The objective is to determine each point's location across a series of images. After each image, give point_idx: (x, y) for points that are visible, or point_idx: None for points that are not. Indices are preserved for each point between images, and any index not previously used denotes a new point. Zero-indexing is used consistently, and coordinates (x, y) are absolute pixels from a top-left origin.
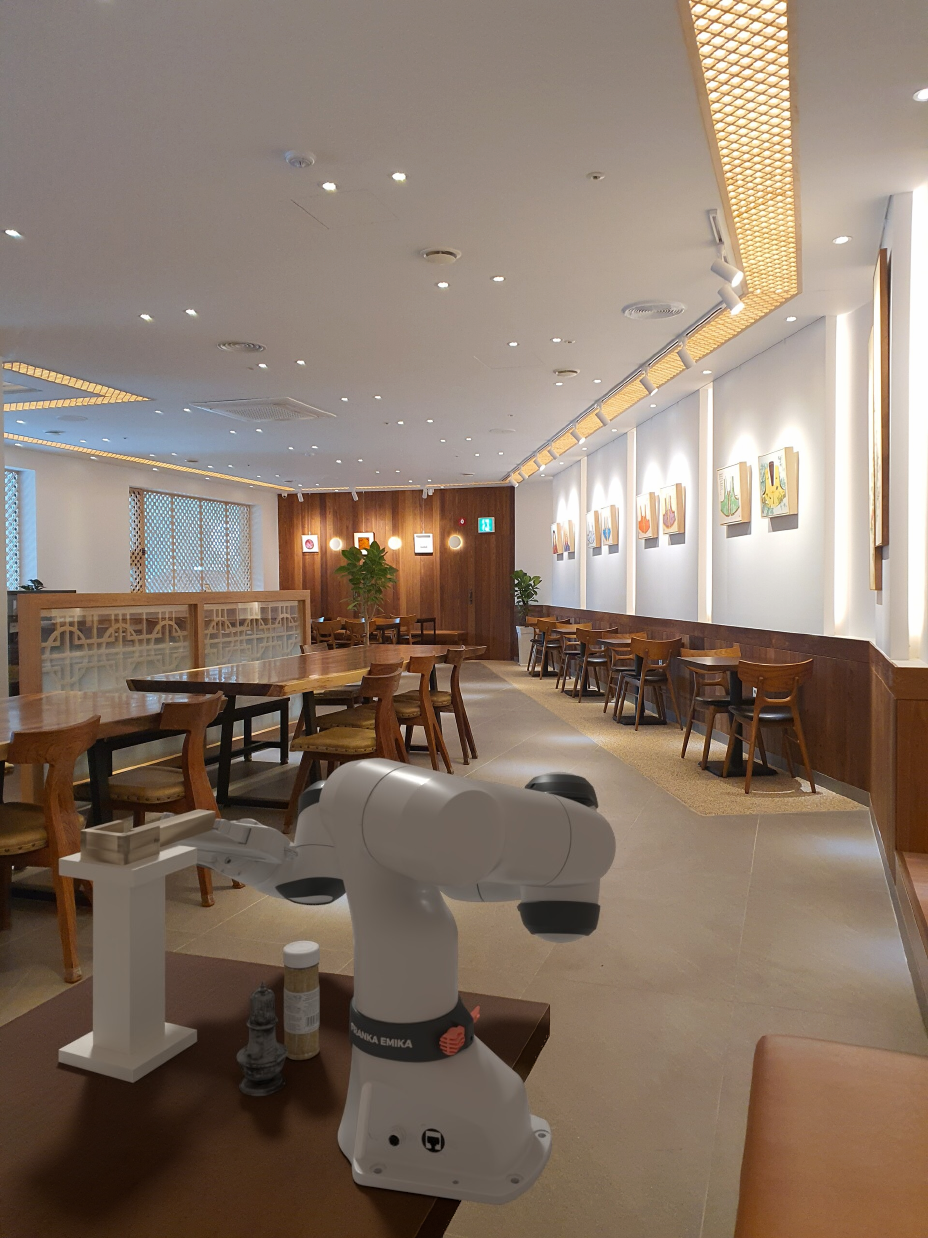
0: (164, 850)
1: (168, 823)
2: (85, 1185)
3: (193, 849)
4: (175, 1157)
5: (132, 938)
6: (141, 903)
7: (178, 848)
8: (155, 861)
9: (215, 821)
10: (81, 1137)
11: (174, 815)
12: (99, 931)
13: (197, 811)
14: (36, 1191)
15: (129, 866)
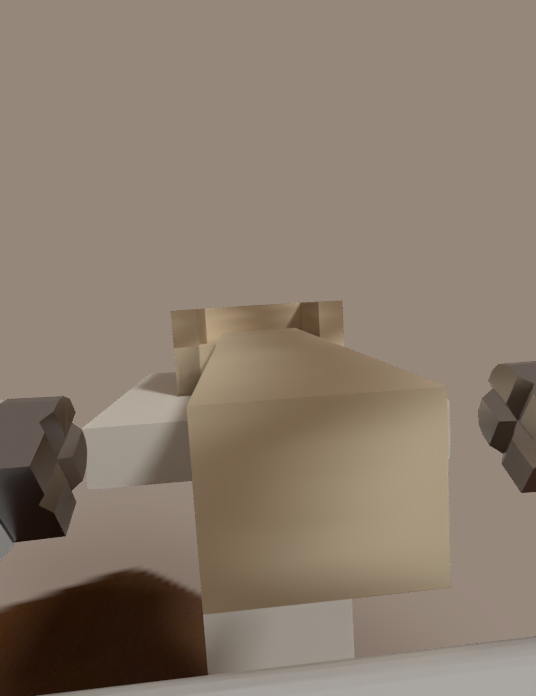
0: (184, 402)
1: (244, 340)
2: (104, 609)
3: (89, 424)
4: (17, 675)
5: None
6: None
7: (150, 413)
8: (139, 385)
9: (64, 406)
10: (163, 646)
11: (534, 392)
12: None
13: (347, 373)
14: (146, 588)
15: (175, 374)
